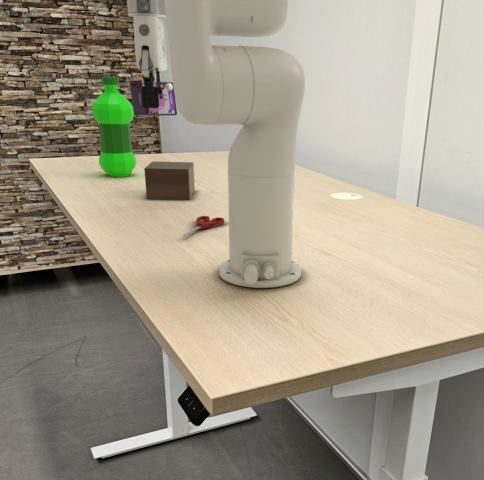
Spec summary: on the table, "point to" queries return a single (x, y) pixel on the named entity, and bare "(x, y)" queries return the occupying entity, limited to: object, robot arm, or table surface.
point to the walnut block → (169, 180)
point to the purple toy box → (138, 99)
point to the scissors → (206, 223)
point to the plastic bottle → (114, 129)
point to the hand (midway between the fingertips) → (153, 105)
